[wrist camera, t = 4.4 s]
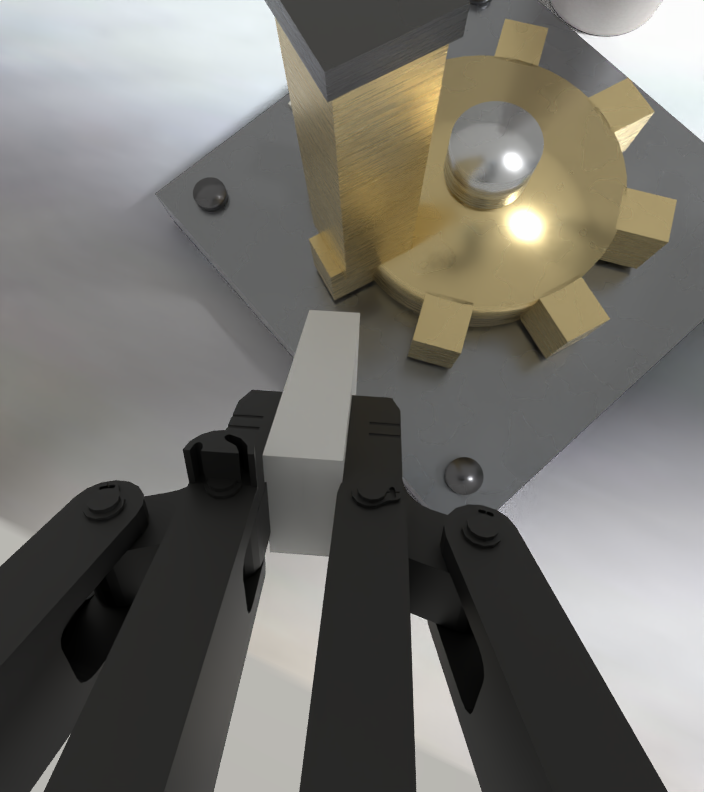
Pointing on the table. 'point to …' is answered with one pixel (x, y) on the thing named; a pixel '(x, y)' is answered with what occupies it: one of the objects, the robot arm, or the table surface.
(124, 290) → the table surface
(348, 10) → the brass gear wheel
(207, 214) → the steel plate
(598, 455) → the table surface
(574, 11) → the coffee cup
